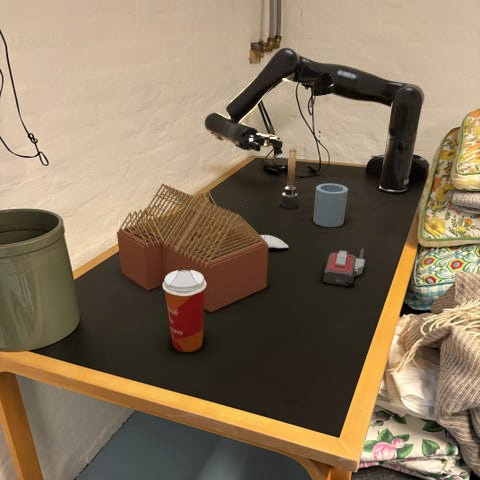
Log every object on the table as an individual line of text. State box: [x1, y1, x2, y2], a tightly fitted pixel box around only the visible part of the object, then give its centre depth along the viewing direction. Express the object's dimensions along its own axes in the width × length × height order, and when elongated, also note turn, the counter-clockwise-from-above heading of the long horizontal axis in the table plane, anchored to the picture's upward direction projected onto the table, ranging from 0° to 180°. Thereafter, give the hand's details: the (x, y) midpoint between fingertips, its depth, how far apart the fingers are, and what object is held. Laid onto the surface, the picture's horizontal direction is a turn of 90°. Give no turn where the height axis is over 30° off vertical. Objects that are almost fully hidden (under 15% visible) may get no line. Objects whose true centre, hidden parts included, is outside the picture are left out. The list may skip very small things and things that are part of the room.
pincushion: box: [256, 229, 289, 249], centre depth 131 cm, size 12×6×6 cm, turn 81°
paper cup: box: [162, 270, 206, 353], centre depth 91 cm, size 8×8×14 cm
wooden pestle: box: [281, 147, 298, 210], centre depth 155 cm, size 5×5×18 cm
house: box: [116, 182, 269, 313], centre depth 112 cm, size 28×23×19 cm
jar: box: [312, 182, 349, 228], centre depth 146 cm, size 9×9×10 cm
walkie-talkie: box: [322, 247, 366, 287], centre depth 121 cm, size 9×4×20 cm
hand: (270, 146), depth 159 cm, fingers open, 8 cm apart
